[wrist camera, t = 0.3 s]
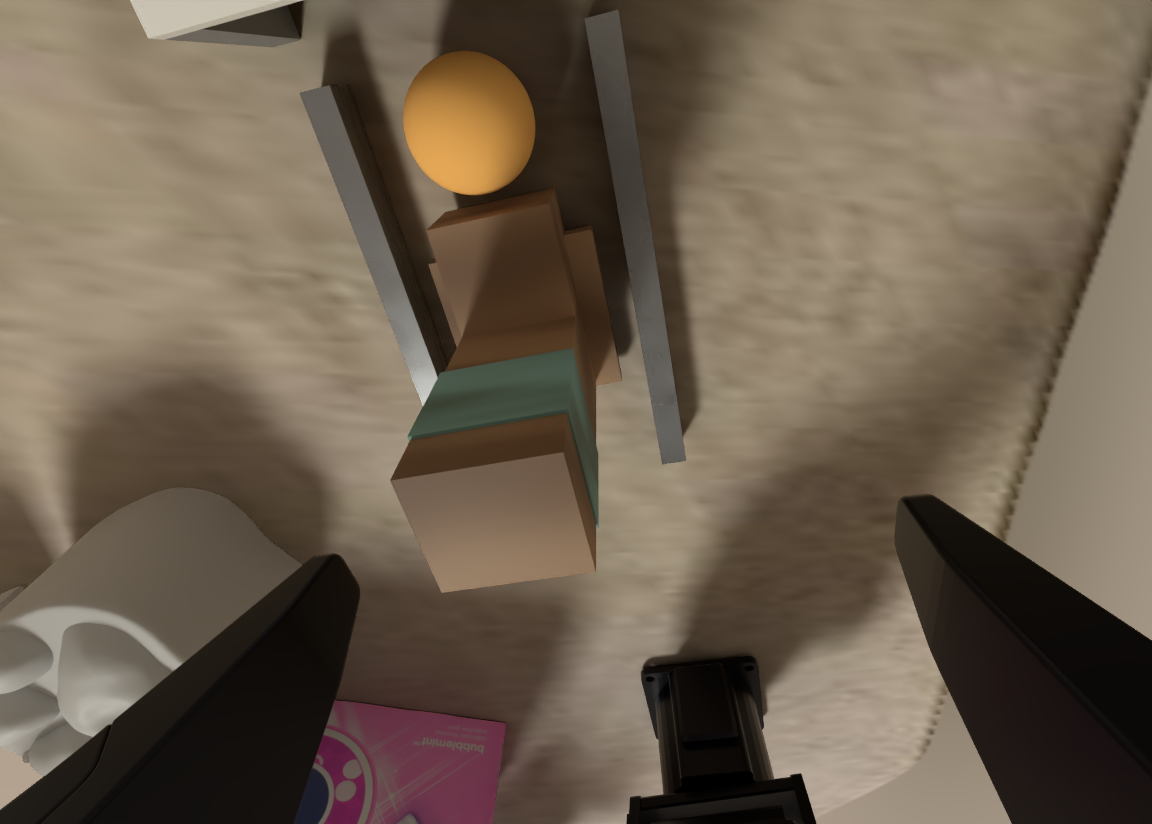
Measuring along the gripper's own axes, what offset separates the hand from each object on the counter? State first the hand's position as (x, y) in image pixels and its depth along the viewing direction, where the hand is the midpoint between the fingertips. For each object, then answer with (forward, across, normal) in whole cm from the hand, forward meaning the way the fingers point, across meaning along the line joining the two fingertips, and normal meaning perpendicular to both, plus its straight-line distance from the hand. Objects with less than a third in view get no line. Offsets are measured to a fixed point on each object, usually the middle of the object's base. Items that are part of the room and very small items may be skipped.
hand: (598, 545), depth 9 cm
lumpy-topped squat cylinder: (+13, +26, +13) cm, 32 cm away
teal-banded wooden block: (+14, +4, +1) cm, 15 cm away
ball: (+13, +4, -5) cm, 15 cm away
